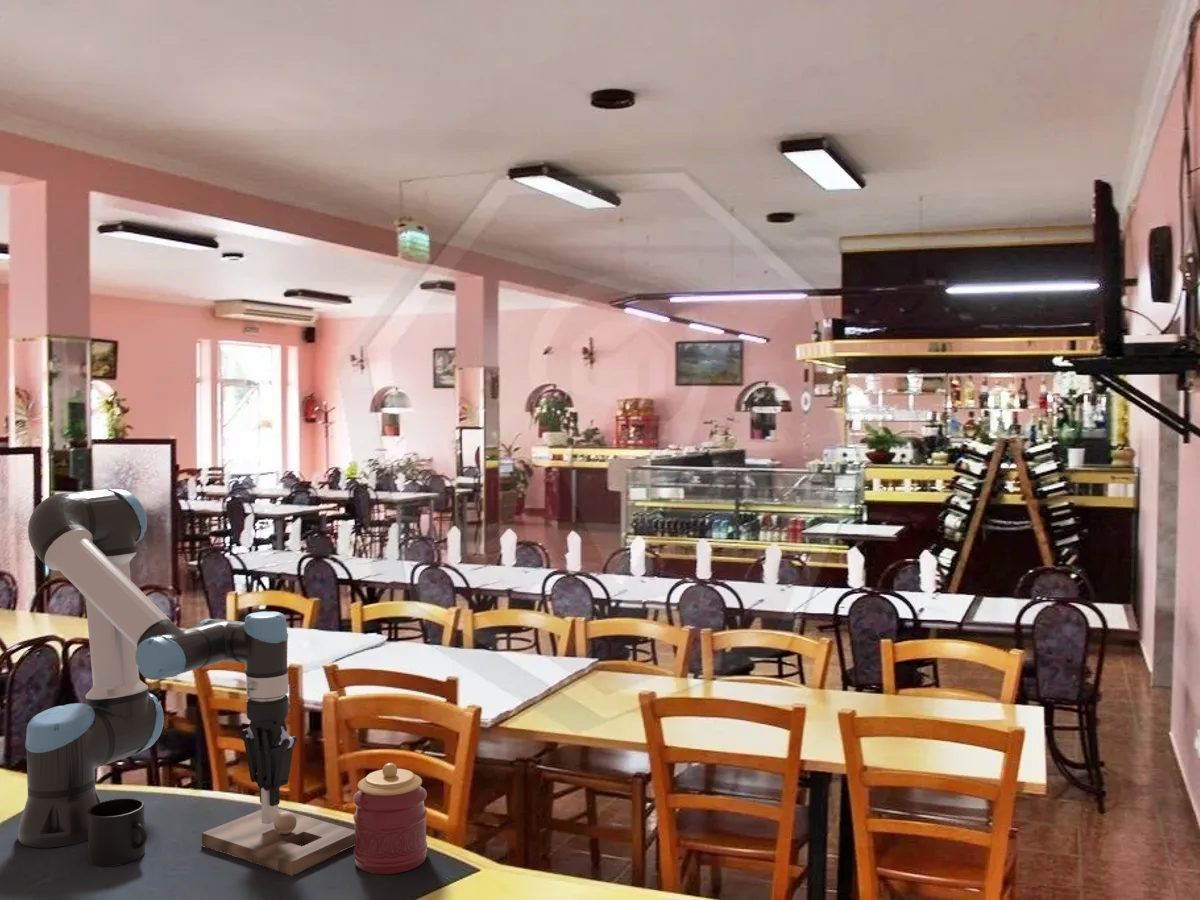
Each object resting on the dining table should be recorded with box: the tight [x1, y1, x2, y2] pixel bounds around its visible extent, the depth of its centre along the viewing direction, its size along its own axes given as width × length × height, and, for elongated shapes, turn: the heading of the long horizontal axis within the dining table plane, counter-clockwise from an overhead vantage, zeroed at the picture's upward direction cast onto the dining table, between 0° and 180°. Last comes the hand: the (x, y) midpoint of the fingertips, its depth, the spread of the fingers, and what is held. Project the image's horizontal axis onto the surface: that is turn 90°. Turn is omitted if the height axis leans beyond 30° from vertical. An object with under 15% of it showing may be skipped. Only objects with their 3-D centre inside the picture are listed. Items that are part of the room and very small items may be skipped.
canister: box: [352, 762, 428, 875], centre depth 198 cm, size 13×13×18 cm
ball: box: [274, 810, 297, 834], centre depth 204 cm, size 4×4×4 cm
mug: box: [87, 797, 147, 867], centre depth 199 cm, size 9×12×9 cm
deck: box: [201, 807, 355, 877], centre depth 205 cm, size 24×16×2 cm, turn 58°
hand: (270, 821), depth 206 cm, fingers closed
